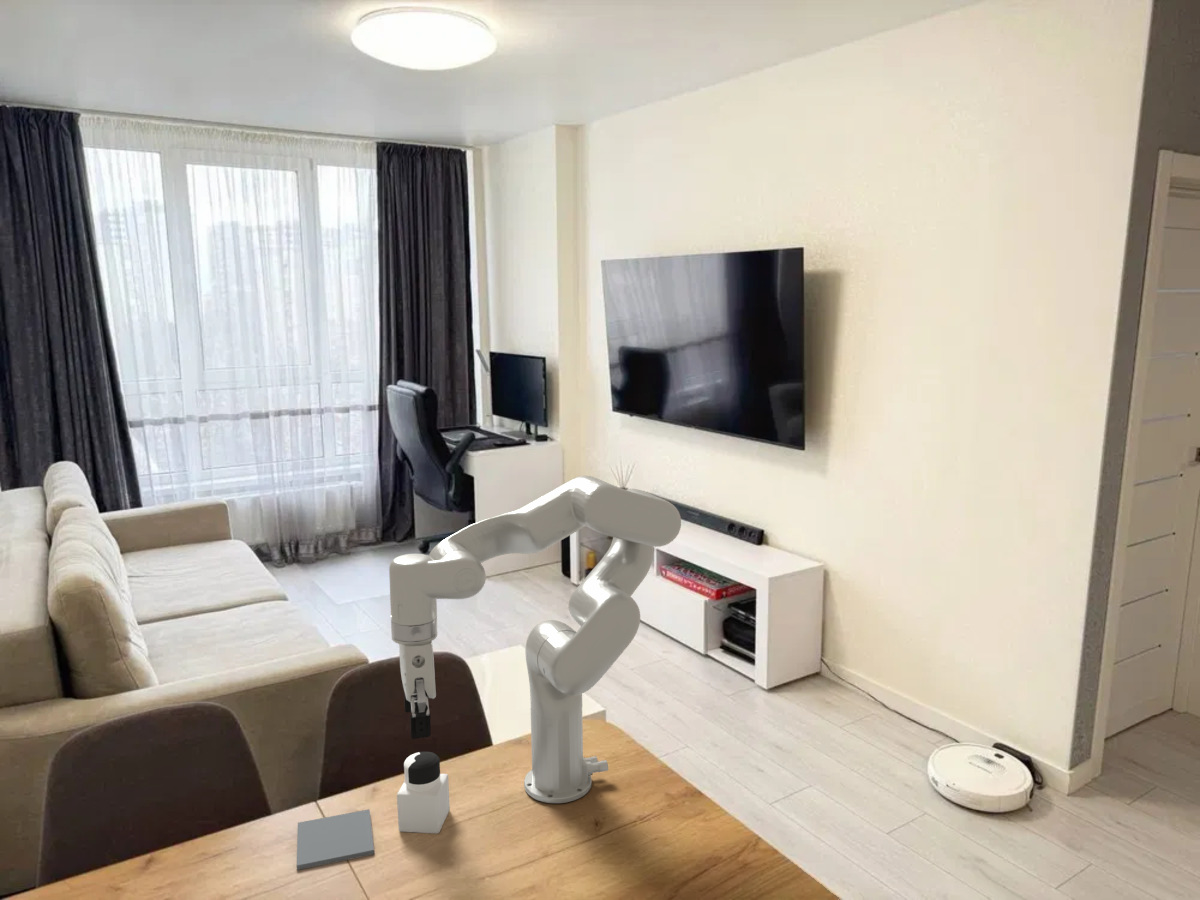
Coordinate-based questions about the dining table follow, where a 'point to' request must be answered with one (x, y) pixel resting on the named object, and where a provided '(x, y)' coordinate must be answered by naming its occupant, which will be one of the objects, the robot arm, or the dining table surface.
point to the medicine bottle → (423, 795)
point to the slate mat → (334, 839)
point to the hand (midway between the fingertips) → (417, 723)
